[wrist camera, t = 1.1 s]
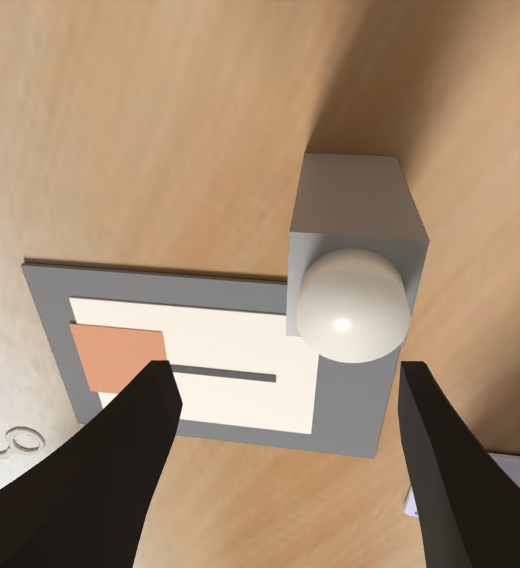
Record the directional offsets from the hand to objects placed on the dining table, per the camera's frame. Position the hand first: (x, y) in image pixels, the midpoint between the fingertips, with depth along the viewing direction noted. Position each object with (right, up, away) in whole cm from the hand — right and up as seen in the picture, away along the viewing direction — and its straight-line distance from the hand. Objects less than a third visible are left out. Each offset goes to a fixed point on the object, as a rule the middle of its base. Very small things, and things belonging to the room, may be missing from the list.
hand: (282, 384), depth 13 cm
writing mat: (-4, -2, +14) cm, 15 cm away
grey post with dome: (+3, +7, +7) cm, 10 cm away
